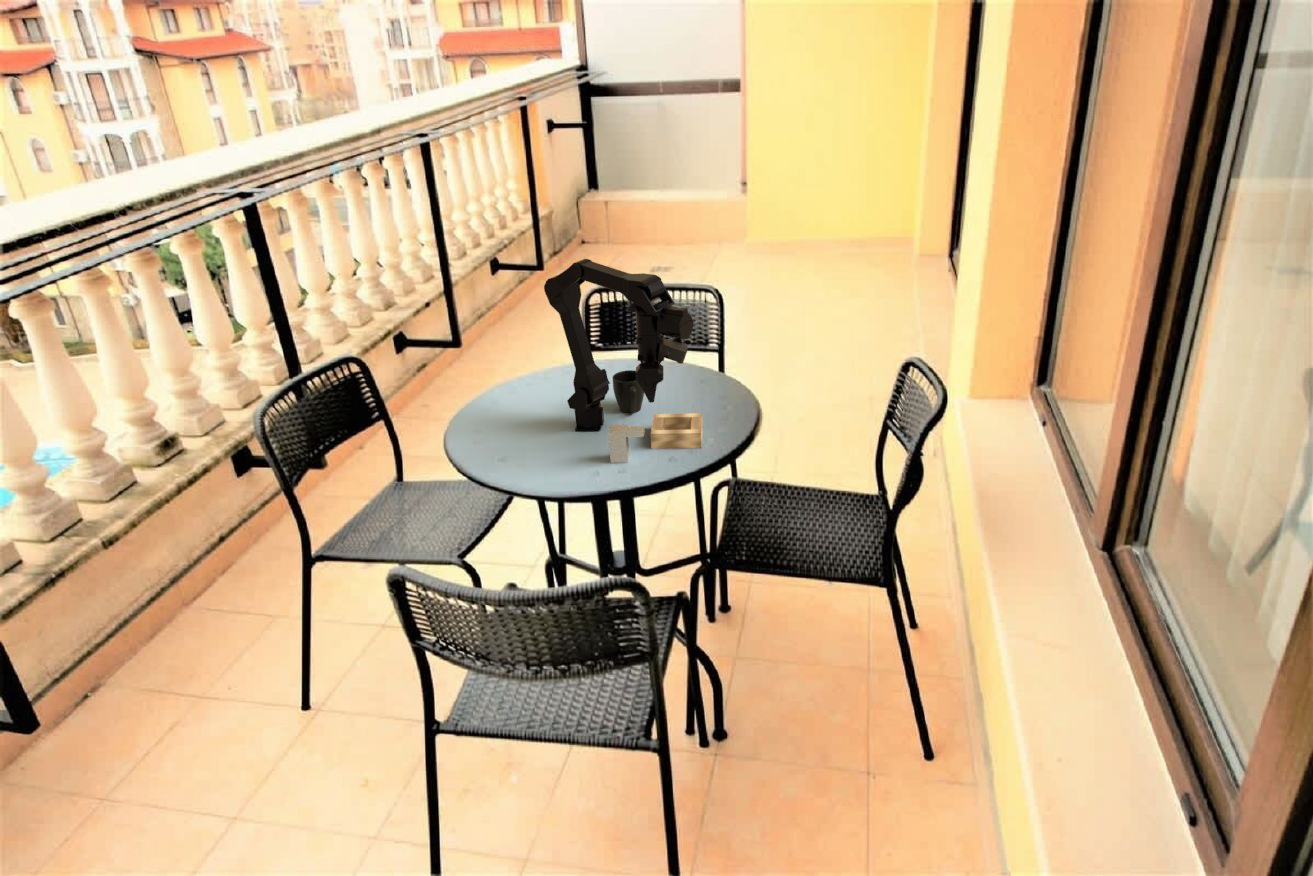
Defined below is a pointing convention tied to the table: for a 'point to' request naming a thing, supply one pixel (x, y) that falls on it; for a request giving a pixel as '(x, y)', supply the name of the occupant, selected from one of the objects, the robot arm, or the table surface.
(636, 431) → the bracket
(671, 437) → the well block
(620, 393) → the mug
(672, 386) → the table surface
